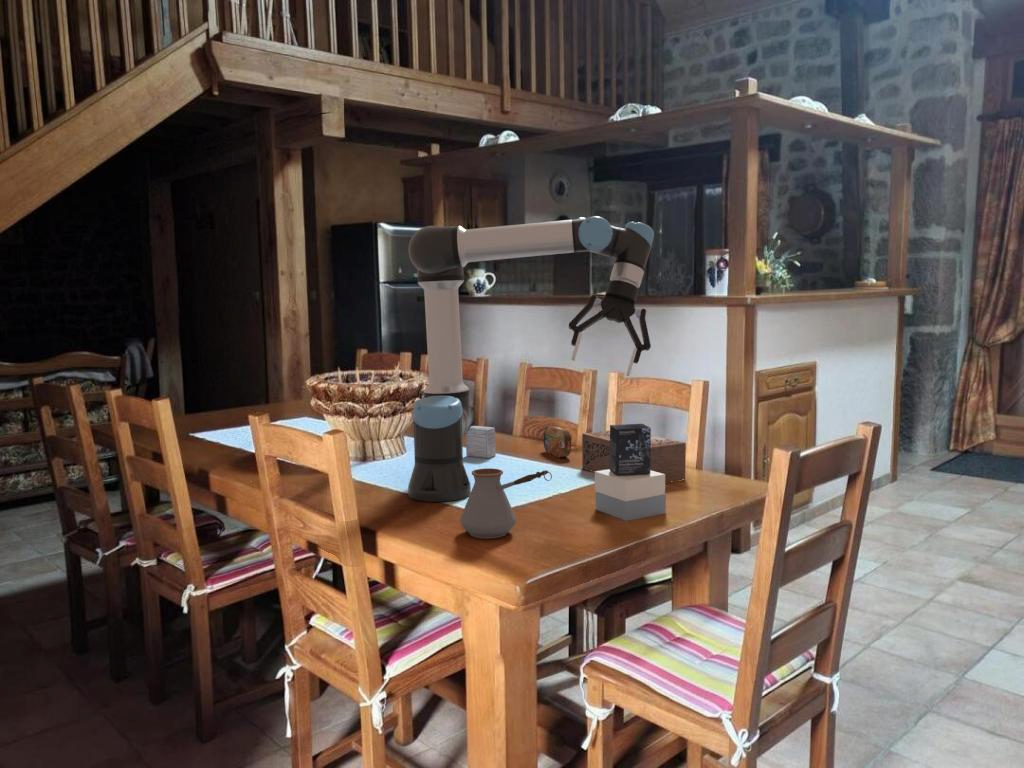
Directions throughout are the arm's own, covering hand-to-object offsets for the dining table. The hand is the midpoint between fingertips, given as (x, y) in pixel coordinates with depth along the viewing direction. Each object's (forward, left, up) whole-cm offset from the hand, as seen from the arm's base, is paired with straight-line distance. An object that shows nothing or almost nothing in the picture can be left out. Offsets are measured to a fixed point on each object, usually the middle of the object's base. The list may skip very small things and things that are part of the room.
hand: (600, 367), depth 200 cm
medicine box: (-4, +55, -31) cm, 63 cm away
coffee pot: (-37, -20, -31) cm, 52 cm away
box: (-4, -17, -22) cm, 29 cm away
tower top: (-5, -17, -26) cm, 32 cm away
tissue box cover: (+19, +12, -31) cm, 38 cm away
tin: (+16, +44, -31) cm, 56 cm away
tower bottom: (-4, -18, -31) cm, 36 cm away
